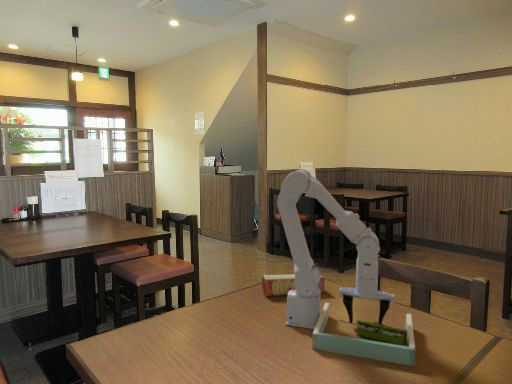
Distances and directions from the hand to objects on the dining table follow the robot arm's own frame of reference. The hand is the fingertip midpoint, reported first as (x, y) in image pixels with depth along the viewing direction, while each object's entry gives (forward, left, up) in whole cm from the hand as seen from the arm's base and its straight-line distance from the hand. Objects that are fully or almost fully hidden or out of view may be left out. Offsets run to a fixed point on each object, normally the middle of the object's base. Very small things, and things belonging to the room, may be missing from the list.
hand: (365, 323), depth 104 cm
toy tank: (+2, -4, -2) cm, 5 cm away
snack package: (-25, +19, -2) cm, 32 cm away
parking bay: (0, -5, -2) cm, 5 cm away
